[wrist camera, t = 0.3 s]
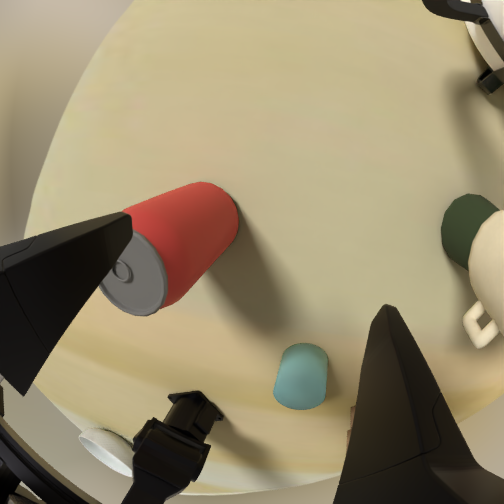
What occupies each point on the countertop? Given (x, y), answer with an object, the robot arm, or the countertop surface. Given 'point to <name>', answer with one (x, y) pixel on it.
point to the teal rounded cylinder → (302, 377)
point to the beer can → (170, 247)
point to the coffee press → (479, 32)
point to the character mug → (478, 260)
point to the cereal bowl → (109, 449)
